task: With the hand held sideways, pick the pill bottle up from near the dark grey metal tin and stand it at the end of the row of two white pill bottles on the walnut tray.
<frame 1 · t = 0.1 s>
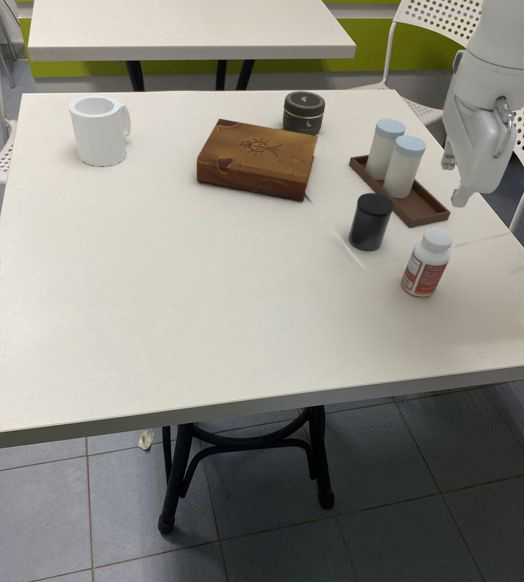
hand: (451, 185, 69), 23 cm above the table, tool pointing down, fingers open, 8 cm apart
white bottle 1: (395, 190, 108), point 1 cm above the table, touching tray
jar: (300, 131, 124), on the table
white bottle 2: (377, 173, 113), point 1 cm above the table, touching tray
mug: (107, 153, 110), on the table
diary: (258, 171, 110), on the table
tray: (394, 193, 109), on the table
pill bottle: (417, 287, 89), on the table
grey tin: (364, 243, 96), on the table
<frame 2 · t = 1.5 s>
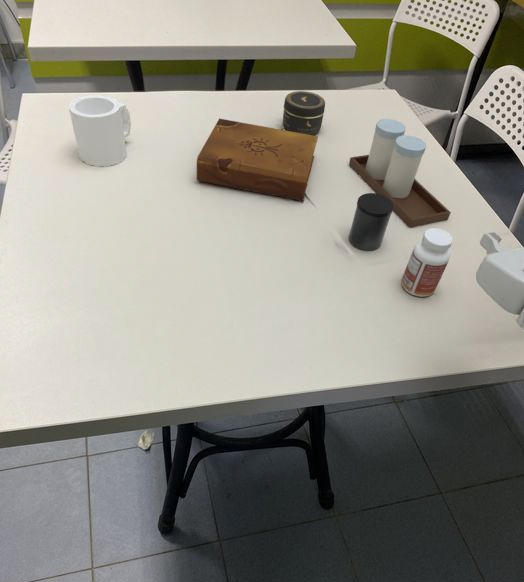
hand: (512, 231, 67), 20 cm above the table, tool horizontal, fingers open, 8 cm apart
nothing on the table moved.
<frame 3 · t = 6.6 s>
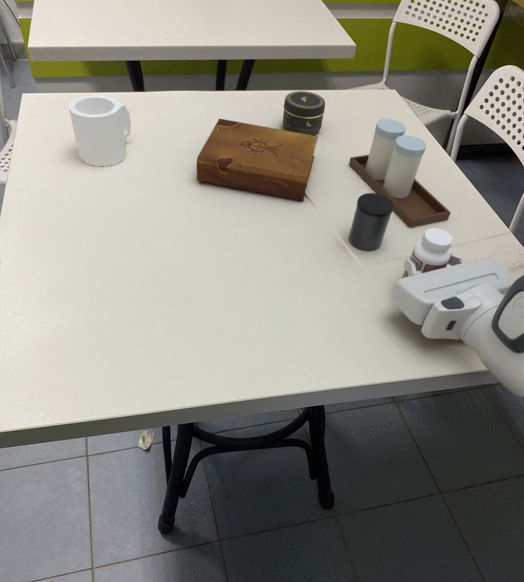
hand: (425, 257, 85), 6 cm above the table, tool horizontal, fingers closed on pill bottle, 6 cm apart
pill bottle: (417, 287, 89), on the table, touching gripper
everything else where it was.
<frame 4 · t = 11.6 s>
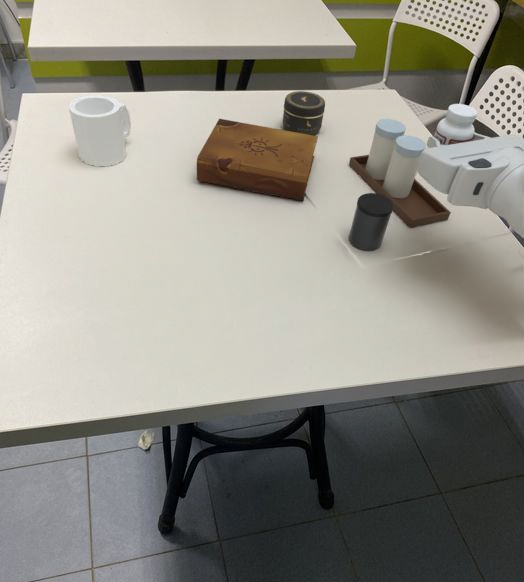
hand: (448, 137, 85), 20 cm above the table, tool horizontal, fingers closed on pill bottle, 6 cm apart
pill bottle: (439, 173, 89), point 14 cm above the table, touching gripper
everything else where it was.
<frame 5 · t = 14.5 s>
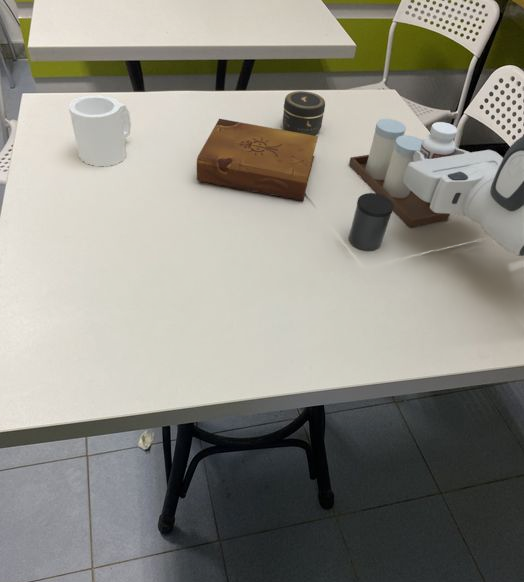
hand: (432, 151, 95), 13 cm above the table, tool horizontal, fingers closed on pill bottle, 6 cm apart
pill bottle: (424, 182, 99), point 7 cm above the table, touching gripper
everything else where it was.
when the fingers open (7 cm above the table, at t = 16.8 s): pill bottle stays where it is, resting on tray.
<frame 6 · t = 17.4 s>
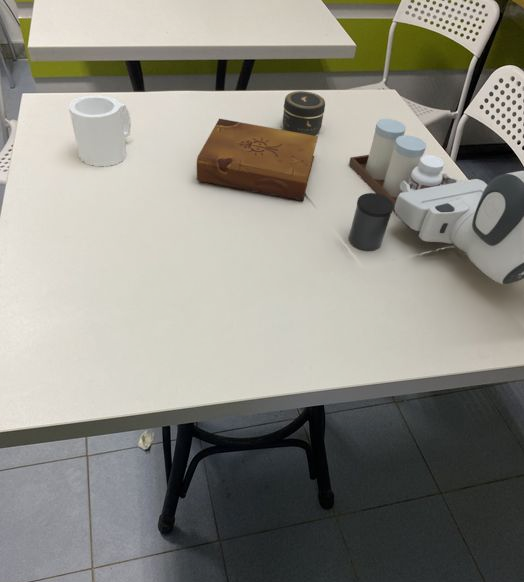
hand: (422, 180, 100), 7 cm above the table, tool horizontal, fingers open, 8 cm apart
pill bottle: (414, 210, 104), resting on tray
everything else where it was.
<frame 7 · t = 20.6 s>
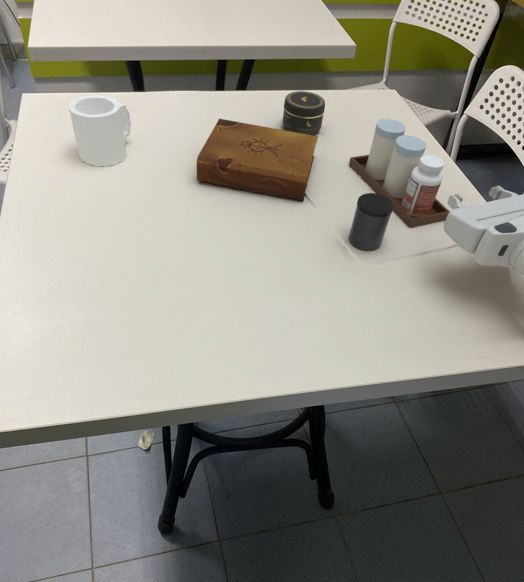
hand: (472, 193, 89), 12 cm above the table, tool horizontal, fingers open, 8 cm apart
nothing on the table moved.
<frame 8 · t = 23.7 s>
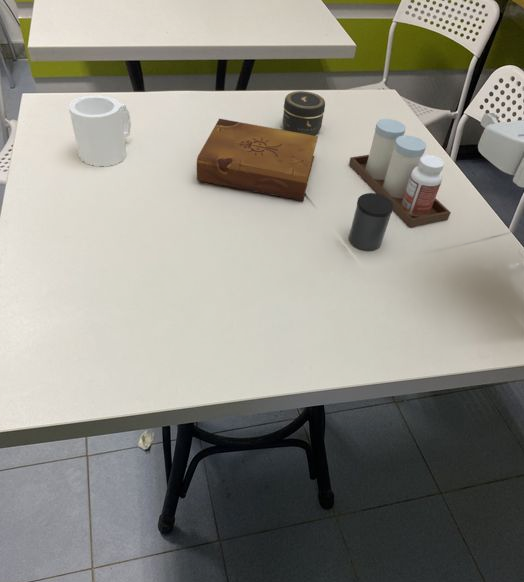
hand: (508, 114, 78), 26 cm above the table, tool horizontal, fingers open, 8 cm apart
nothing on the table moved.
at the end: pill bottle 0.1 cm from the target spot in the tray, point 0.4 cm above the tray's base; pill bottle tilted 0°; pill bottle 7.5 cm from the white bottle 1 (horizontally) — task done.
